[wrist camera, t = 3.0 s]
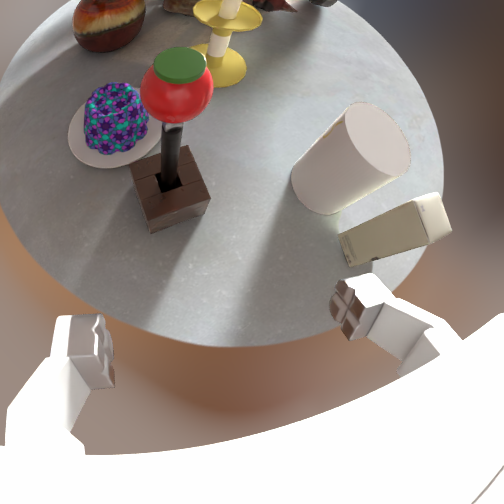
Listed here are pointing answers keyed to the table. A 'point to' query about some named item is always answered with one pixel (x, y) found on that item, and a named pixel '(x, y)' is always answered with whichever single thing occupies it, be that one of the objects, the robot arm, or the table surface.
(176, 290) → the table surface
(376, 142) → the white cylinder
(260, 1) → the stuffed fox
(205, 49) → the candle
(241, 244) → the table surface
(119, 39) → the vase
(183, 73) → the joystick
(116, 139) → the pudding
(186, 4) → the brown textured cylinder
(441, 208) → the box
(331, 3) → the headphones
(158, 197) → the block
